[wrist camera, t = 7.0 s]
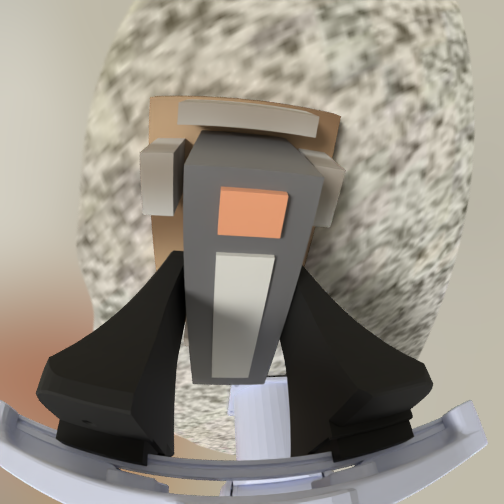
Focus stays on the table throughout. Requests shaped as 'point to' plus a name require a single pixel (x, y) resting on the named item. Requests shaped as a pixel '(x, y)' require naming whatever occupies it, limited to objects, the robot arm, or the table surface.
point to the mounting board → (228, 120)
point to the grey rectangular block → (243, 249)
